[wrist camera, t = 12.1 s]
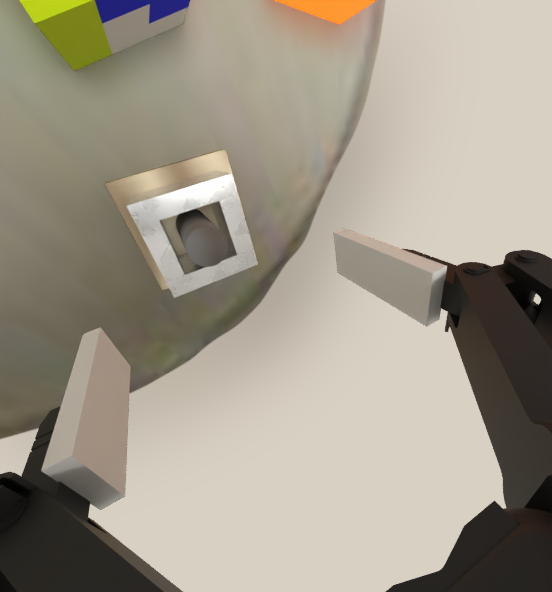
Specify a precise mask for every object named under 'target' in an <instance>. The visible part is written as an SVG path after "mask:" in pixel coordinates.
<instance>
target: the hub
mask: <svg viewBox="0 0 552 592" xmlns="http://www.w3.org/2000/svg"><path fill="white" fill-rule="evenodd" d="M208 204H211V207H212V210H213V213H214V216H215V219H216V222H217V224H218V227H219V230H220V231H221V232H222V233H223V234H224V236H225V237H226V239H227V242H228V251H227V254H226V256H225V258H224V259H223V260H222V261H221V262H220V263H219V264H217V265H215V266H211V267H203V266H199V265H197V264H196V263H194V262H193V261H192V260H191V259H190V257H189V256H188V253H184V254H182V255H179V256H178V254H177V252H176V250H175V248H174V246H173V244H172V241H171V239H170V237H169V235H168V233H167V231H166V228H165V226H164V224H163V222H162V219H165V218H168V217H171V216H174V215H178V214H181V213H184V212H187V211H190V210H193V209H196V208H199V207H202V206H205V205H208ZM127 208H128V210H129V212H130V214H131V216H132V218H133V220H134V222H135V224H136V226H137V227H138V229H139V231H140V233H141V235H142V237H143V239H144V241H145V243H146V245H147V247H148V249H149V250H150V252H151V254H152V256H153V258H154V260H155V262H156V264H157V266H158V268H159V270H160V272H161V273H162V275H163V277H164V279H165V281H166V283H167V285H168V287H169V289H170V291H171V293H172V295H173V296H174V298H176V297H178V296H181V295H183V294H185V293H188V292H190V291H193V290H195V289H198V288H200V287H203V286H205V285H208V284H210V283H213V282H215V281H218V280H220V279H223V278H225V277H228V276H230V275H233V274H235V273H238V272H240V271H243V270H245V269H248V268H250V267H253V266H255V265H258V262H257V259H256V255H255V252H254V248H253V245H252V242H251V238H250V235H249V231H248V228H247V224H246V221H245V217H244V214H243V210H242V207H241V203H240V200H239V197H238V193H237V190H236V186H235V183H234V179H233V176H232V173H227V172H223V171H218V170H215V171H212V172H208V173H205V174H202V175H199V176H195V177H192V178H189V179H185V180H182V181H179V182H175V183H172V184H169V185H165V186H162V187H159V188H155V189H152V190H149V191H145V192H142V193H139V194H135V195H132V196H129V199H128V202H127Z"/></svg>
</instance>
